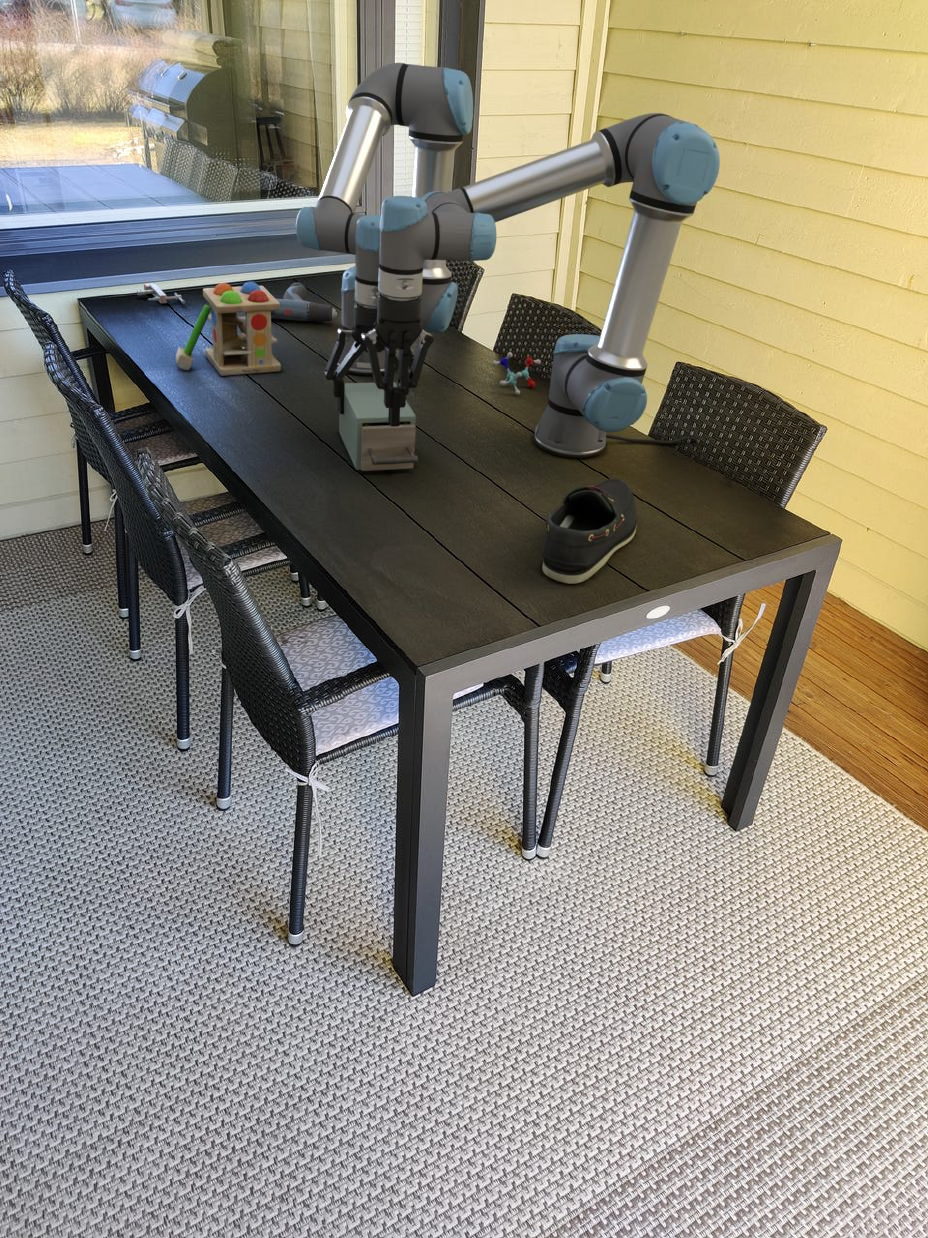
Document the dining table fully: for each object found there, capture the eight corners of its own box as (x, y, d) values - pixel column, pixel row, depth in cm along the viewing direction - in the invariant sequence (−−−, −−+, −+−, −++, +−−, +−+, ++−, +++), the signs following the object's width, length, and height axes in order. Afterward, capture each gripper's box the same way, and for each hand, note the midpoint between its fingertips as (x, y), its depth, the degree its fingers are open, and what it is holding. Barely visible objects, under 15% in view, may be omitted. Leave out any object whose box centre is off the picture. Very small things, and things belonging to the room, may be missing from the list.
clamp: (132, 284, 268) (169, 281, 272) (133, 292, 269) (170, 289, 273) (148, 300, 257) (185, 297, 262) (148, 309, 259) (186, 306, 263)
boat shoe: (659, 521, 184) (668, 470, 179) (580, 590, 160) (587, 533, 155) (597, 502, 190) (604, 452, 184) (512, 566, 166) (517, 511, 160)
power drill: (344, 304, 276) (335, 327, 259) (277, 298, 275) (264, 321, 258) (344, 285, 273) (335, 306, 256) (277, 279, 272) (264, 300, 255)
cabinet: (412, 467, 194) (415, 416, 188) (355, 470, 191) (357, 418, 184) (392, 430, 207) (394, 381, 201) (339, 432, 204) (339, 383, 198)
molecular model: (536, 387, 225) (523, 344, 224) (499, 400, 229) (485, 359, 227) (549, 385, 235) (536, 345, 234) (513, 399, 239) (500, 359, 238)
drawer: (420, 481, 186) (423, 439, 182) (368, 484, 184) (369, 441, 179) (394, 433, 204) (396, 393, 199) (345, 435, 201) (346, 395, 196)
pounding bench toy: (183, 379, 220) (176, 299, 210) (169, 357, 231) (162, 280, 221) (282, 371, 230) (280, 294, 220) (264, 350, 240) (262, 276, 230)
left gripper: (315, 309, 181) (315, 420, 193) (439, 309, 188) (431, 415, 200) (308, 297, 187) (309, 405, 199) (429, 297, 194) (422, 401, 206)
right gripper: (366, 301, 163) (363, 433, 176) (442, 301, 167) (432, 430, 180) (357, 288, 169) (354, 416, 182) (430, 288, 173) (422, 414, 186)
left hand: (370, 410), depth 200 cm, fingers closed on cabinet, 11 cm apart
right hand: (393, 423), depth 181 cm, fingers closed
